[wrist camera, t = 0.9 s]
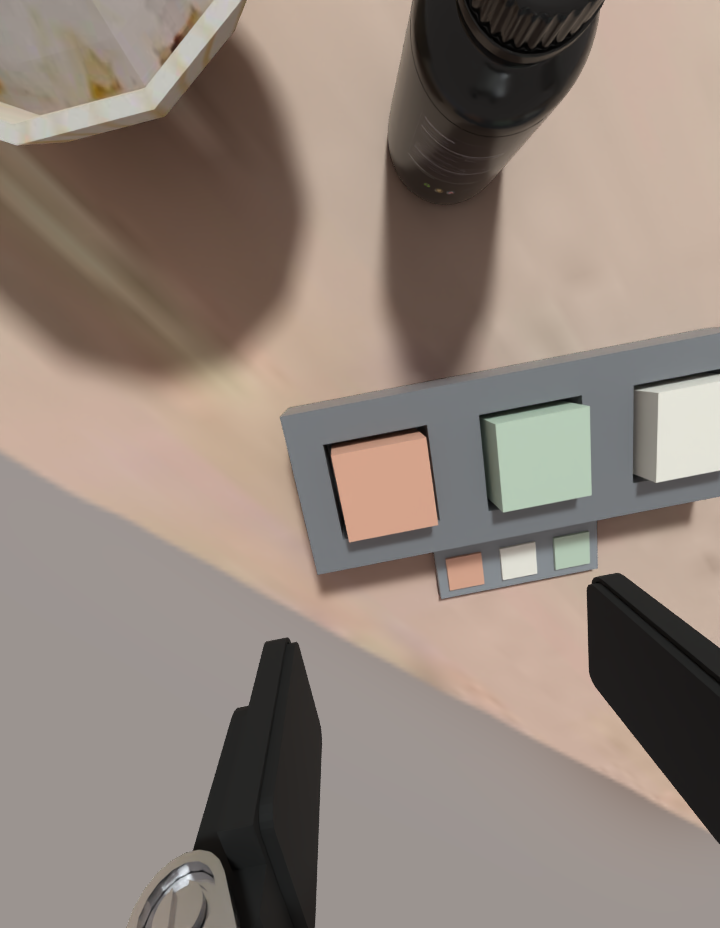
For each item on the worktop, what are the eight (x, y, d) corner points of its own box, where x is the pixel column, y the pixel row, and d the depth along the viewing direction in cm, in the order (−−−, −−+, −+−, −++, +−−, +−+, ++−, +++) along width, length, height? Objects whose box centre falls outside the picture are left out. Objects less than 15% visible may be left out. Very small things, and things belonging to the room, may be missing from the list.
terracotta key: (415, 428, 24) (426, 437, 21) (426, 506, 25) (438, 525, 22) (331, 444, 24) (331, 455, 21) (347, 521, 25) (349, 542, 22)
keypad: (707, 327, 26) (773, 322, 22) (699, 471, 28) (757, 489, 24) (288, 408, 25) (279, 416, 21) (320, 544, 28) (317, 574, 24)
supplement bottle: (401, 48, 21) (484, -344, 9) (520, 87, 21) (735, -229, 10) (372, 192, 22) (411, 13, 11) (483, 223, 23) (631, 89, 12)
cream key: (702, 373, 24) (752, 374, 21) (697, 453, 25) (743, 465, 22) (619, 388, 24) (658, 392, 21) (619, 468, 25) (656, 482, 22)
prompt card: (592, 517, 29) (598, 521, 28) (593, 564, 30) (599, 569, 29) (432, 548, 29) (435, 553, 28) (439, 595, 30) (442, 600, 29)
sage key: (559, 400, 24) (589, 406, 21) (562, 479, 25) (591, 495, 22) (476, 416, 24) (495, 424, 21) (484, 494, 25) (503, 512, 22)
